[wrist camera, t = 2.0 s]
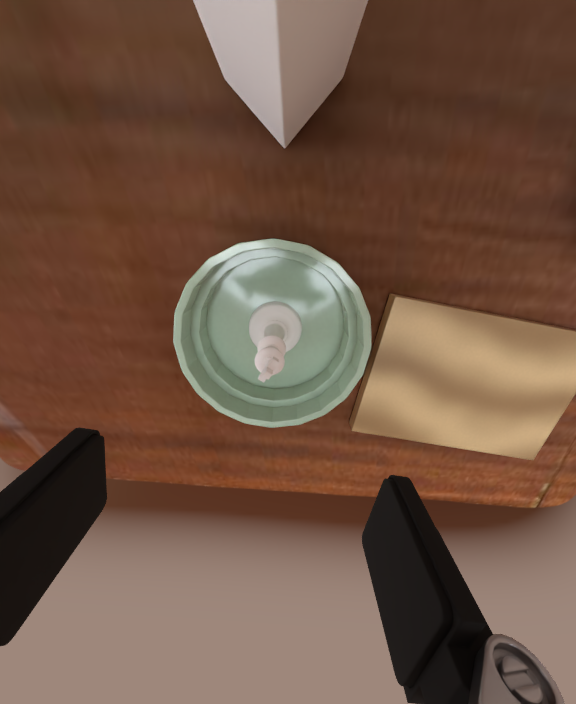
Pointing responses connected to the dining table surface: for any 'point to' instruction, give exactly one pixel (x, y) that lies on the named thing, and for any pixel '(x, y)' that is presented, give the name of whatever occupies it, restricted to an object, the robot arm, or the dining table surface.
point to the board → (465, 378)
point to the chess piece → (273, 336)
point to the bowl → (239, 351)
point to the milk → (282, 54)
